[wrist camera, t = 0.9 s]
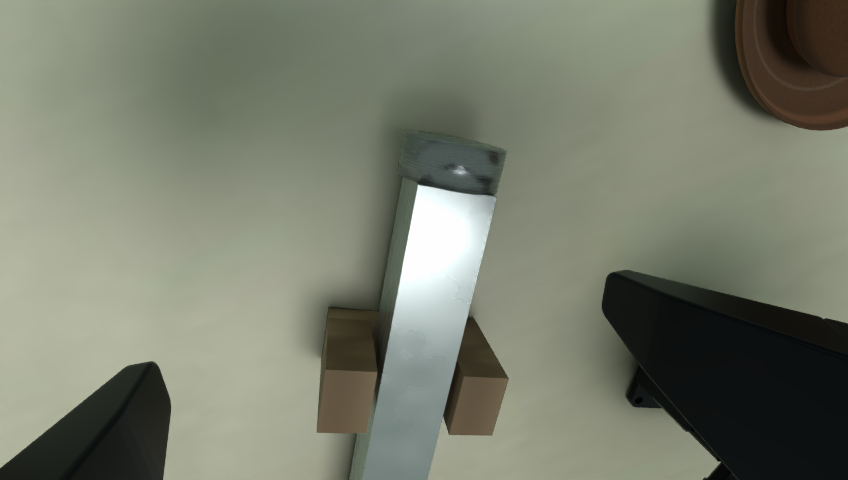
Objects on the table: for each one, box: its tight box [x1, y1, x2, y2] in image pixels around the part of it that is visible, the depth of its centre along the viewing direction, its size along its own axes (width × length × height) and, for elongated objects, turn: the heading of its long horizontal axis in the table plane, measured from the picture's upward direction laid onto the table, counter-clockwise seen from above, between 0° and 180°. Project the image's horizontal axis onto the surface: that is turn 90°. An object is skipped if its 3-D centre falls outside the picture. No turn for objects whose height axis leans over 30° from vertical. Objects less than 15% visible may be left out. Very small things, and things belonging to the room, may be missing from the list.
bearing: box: [317, 307, 509, 435], centre depth 20 cm, size 8×3×5 cm, turn 79°
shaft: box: [349, 130, 507, 480], centre depth 22 cm, size 4×34×4 cm, turn 169°
